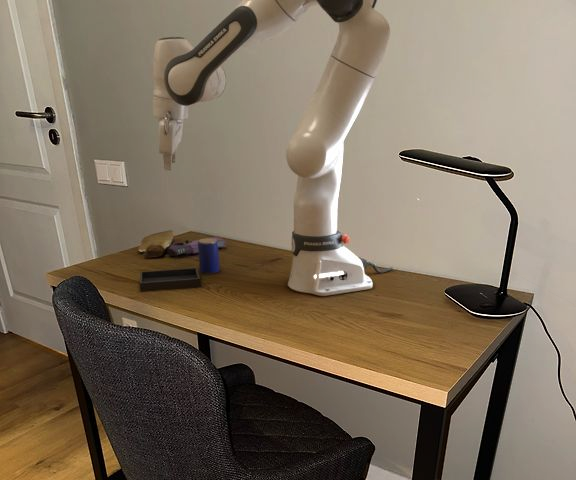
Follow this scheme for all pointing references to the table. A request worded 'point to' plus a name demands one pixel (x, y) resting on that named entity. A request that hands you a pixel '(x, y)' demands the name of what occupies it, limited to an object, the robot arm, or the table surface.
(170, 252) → the toy gun
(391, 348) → the table surface
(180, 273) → the tray
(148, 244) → the stone tool
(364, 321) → the table surface
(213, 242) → the can
